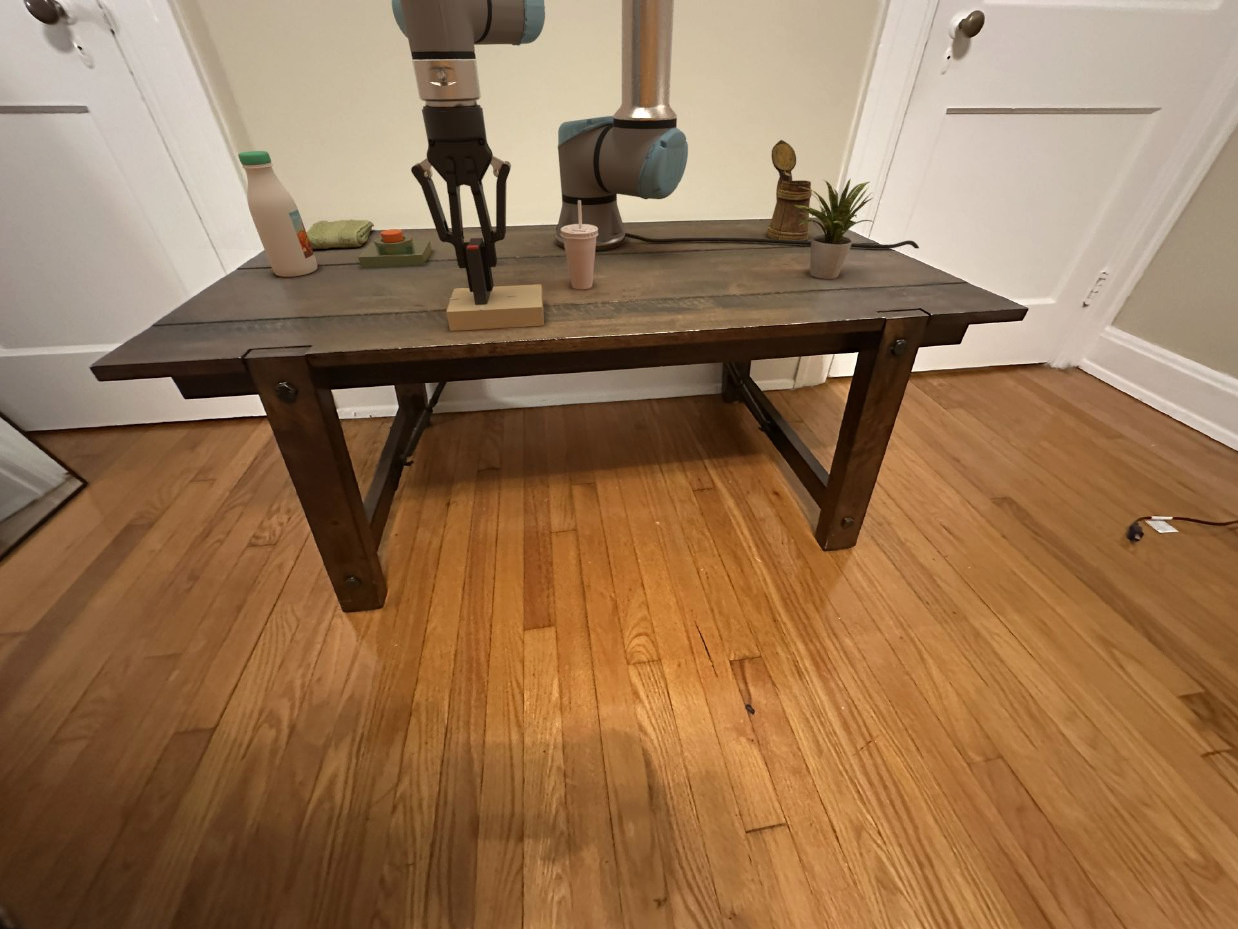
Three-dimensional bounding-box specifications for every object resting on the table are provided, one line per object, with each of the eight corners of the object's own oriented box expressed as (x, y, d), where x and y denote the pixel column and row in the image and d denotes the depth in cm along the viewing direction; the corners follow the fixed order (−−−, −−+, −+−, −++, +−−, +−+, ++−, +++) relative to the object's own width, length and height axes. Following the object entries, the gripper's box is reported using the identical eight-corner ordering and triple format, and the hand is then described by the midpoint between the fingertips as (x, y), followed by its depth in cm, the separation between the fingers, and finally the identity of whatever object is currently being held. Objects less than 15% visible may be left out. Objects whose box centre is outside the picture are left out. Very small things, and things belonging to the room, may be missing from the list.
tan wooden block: (543, 301, 89) (541, 283, 87) (544, 326, 81) (542, 305, 79) (457, 306, 88) (453, 287, 86) (449, 331, 80) (445, 310, 78)
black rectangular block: (479, 291, 84) (470, 236, 79) (491, 290, 85) (482, 236, 80) (475, 304, 80) (465, 247, 75) (487, 304, 80) (478, 247, 75)
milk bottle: (301, 279, 99) (255, 155, 87) (265, 276, 100) (215, 154, 88) (327, 266, 105) (288, 149, 93) (292, 264, 106) (249, 148, 94)
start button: (405, 237, 108) (403, 228, 107) (402, 243, 105) (399, 234, 103) (385, 238, 107) (383, 229, 106) (381, 244, 104) (378, 234, 103)
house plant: (810, 256, 108) (829, 165, 98) (877, 271, 100) (904, 174, 90) (772, 272, 100) (788, 175, 90) (840, 290, 92) (866, 186, 82)
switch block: (432, 251, 113) (428, 231, 110) (424, 265, 105) (419, 244, 102) (373, 253, 111) (368, 233, 109) (361, 268, 104) (355, 247, 101)
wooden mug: (783, 225, 128) (798, 138, 117) (816, 240, 118) (835, 146, 107) (750, 228, 126) (762, 140, 115) (780, 243, 116) (796, 148, 105)
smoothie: (572, 294, 92) (567, 206, 83) (558, 283, 96) (552, 198, 88) (605, 288, 94) (604, 201, 85) (590, 277, 98) (587, 194, 90)
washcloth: (376, 228, 128) (372, 214, 126) (364, 249, 114) (359, 233, 112) (318, 231, 126) (313, 217, 124) (299, 253, 112) (293, 237, 110)
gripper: (383, 106, 63) (427, 299, 78) (509, 104, 65) (530, 295, 79) (397, 102, 69) (436, 282, 84) (512, 100, 71) (531, 278, 85)
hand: (481, 288), depth 81 cm, fingers closed on black rectangular block, 2 cm apart
